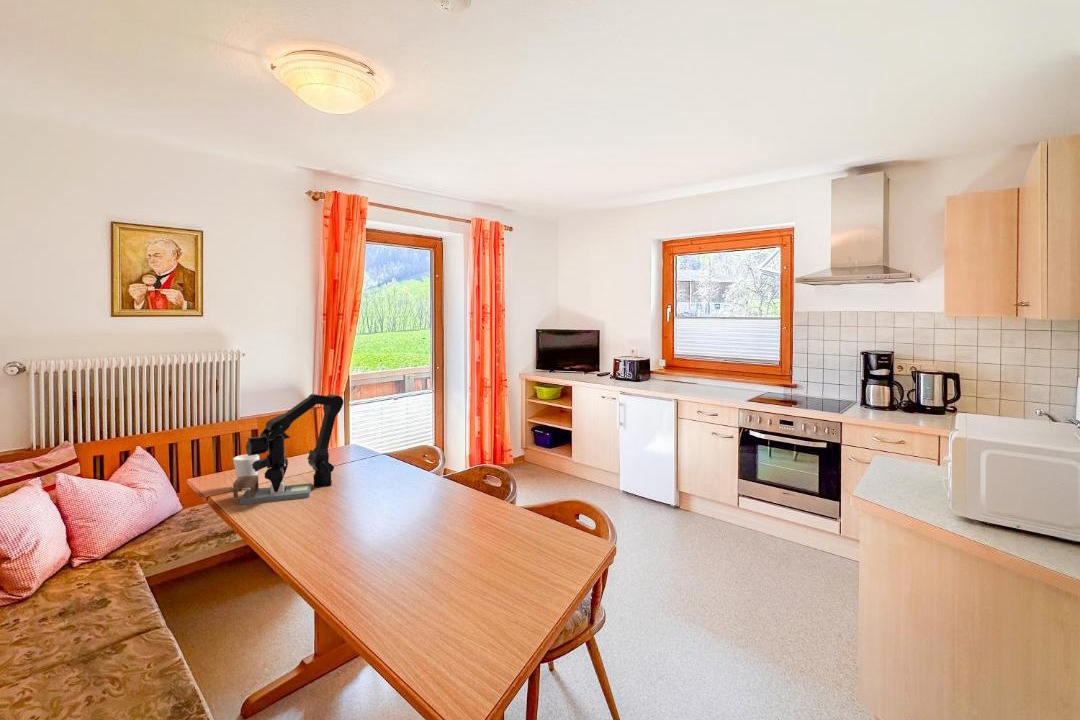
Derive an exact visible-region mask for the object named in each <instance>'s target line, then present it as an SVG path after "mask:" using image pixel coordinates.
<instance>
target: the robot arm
mask: <svg viewBox="0 0 1080 720" xmlns="http://www.w3.org/2000/svg"><path fill="white" fill-rule="evenodd" d="M316 405H322V407H323V409H322V410H323V419H322V422H321V427H320V430H319V433H318V438H317V441H316V446H315V448H314V449H313V450H312V449H310V450H309V451H308V452H309V453H308V457H307V458H306V459H307V460H308V465H309V466H310V467H312V470H313V471H314V474H313V485H314V488H319V487H320V488H321V487H331V486H332V483H333V480H332V472H334V469H335V466H334V465H333V464H332V463H330V462H329V460H330V455H329V454H330V453H329V449H328V448H329V445H330V441H331V438H332V433H333V429H334V426H335V422H336V421H335V420H336V417H337V416H338V415H339V413H340V411H341V410H342V408H343V405H344V399H343V397H341V396H340V395H336V394H331V393H330V394H327V395H322V394H321V395H320V394H316V393H311V394H309V396H307V397H306V398H304V399H303V400H302V401H300V402H299V403H297V404H296V405H295V406H293V407H292V408H291V409H290V410H287V412H284V413H283V414H281V415H277V416H275V417H273V418H271V419H269V420H267V422H266V423H265V427H264V429H263V430H262V432H261V433H260V434H259V436H257V437H256V436H255V437H248V438H247V441H246V445H245V451H246V454H248V456H251V455H256V454H257V455H262V454H266V452H267V453H268V454H267V455H266V456H265V457H262V458H259V460H257V461H255V462H253V464H252V466H253V469H254V470H255V471H258V472H259V470H262V469H264V468H267V469H266V471H265V472H264V479H266V480H268V481H270V484H271V483H272V486H273V489H274V492H278V489H279V487H280V484H281V481H284V478H285V475H286V473H287V472H286V471H287V468H288V467H289V459H288V458H286V457H285V455H286V451H285V440H287V439H290V438H291V436H289V435H288V434H287V433H286V431H287V430H288V429H289V428H290V427H291V425H292V424H293V423H294V421H297V420H298V419H299V418H300V417H301V416H303V415H304V414H305V413H307V412H308V411H310V410H311V409H313V407H315V406H316Z"/></svg>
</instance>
